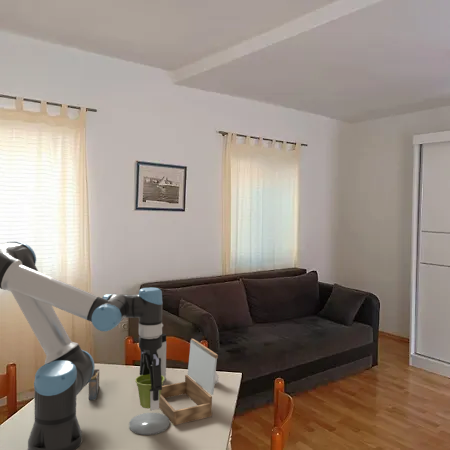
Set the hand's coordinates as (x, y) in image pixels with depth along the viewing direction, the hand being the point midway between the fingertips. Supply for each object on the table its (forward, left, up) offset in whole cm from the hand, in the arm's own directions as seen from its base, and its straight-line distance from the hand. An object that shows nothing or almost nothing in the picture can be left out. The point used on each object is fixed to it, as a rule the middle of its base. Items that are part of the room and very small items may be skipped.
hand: (150, 403), depth 144 cm
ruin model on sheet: (-11, +33, -8) cm, 36 cm away
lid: (+21, +7, +7) cm, 24 cm away
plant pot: (0, 0, 0) cm, 1 cm away
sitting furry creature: (+33, +23, -7) cm, 41 cm away
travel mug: (+15, +34, -7) cm, 38 cm away
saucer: (0, 0, -7) cm, 7 cm away
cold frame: (+14, +7, -7) cm, 17 cm away
